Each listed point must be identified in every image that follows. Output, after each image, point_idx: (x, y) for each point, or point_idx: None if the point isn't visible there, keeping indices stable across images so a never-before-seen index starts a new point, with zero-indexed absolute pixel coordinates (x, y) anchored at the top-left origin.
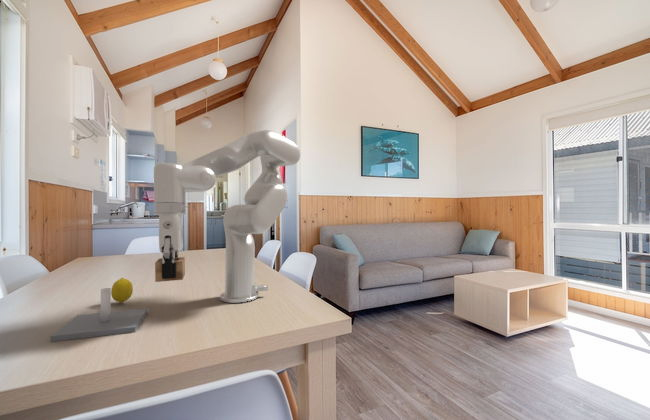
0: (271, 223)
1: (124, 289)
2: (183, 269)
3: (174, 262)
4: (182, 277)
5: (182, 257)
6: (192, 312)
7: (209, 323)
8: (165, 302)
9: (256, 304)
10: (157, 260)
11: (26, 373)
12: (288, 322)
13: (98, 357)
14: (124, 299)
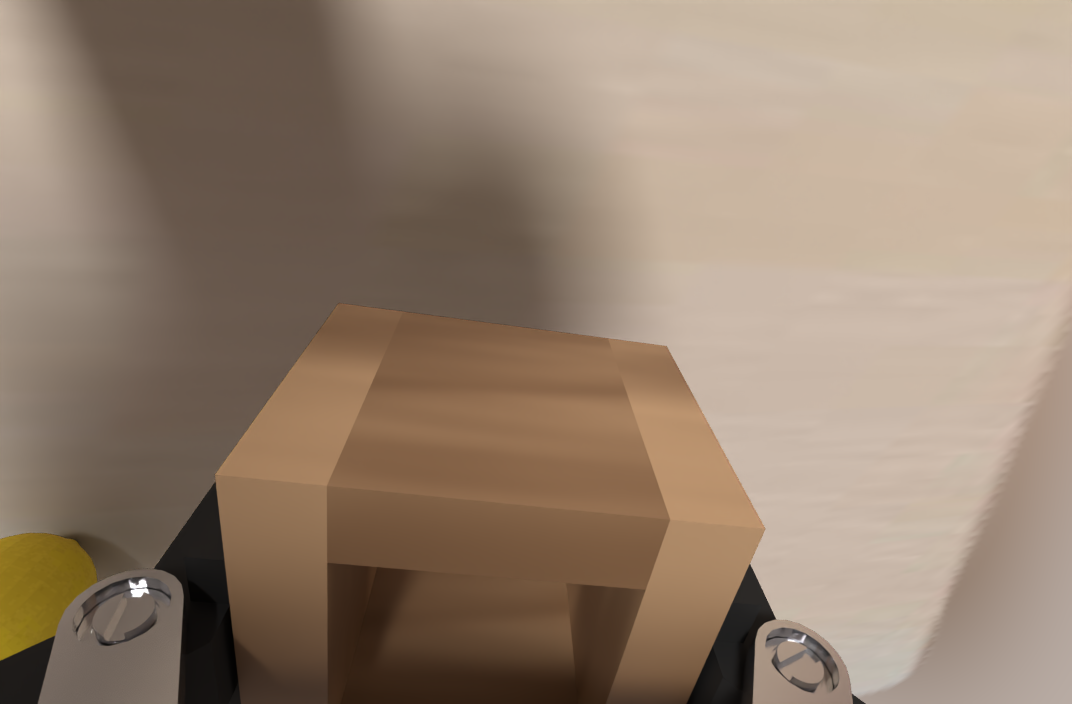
0: None
1: (45, 616)
2: (560, 389)
3: (769, 626)
4: (675, 363)
5: (283, 515)
6: (435, 132)
7: (761, 35)
8: (96, 309)
9: None
10: None
11: None
12: None
13: (853, 541)
14: (86, 555)
